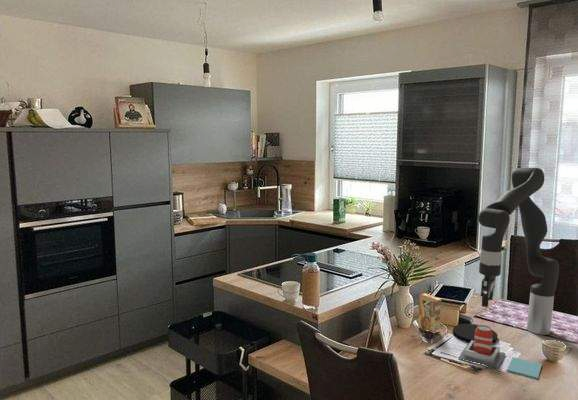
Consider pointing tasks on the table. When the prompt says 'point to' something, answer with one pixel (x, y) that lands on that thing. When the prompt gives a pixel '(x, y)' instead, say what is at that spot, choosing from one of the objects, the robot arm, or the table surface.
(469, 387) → the table surface
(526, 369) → the mat
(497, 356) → the can holder
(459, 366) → the table surface
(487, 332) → the beverage can
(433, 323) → the candy box
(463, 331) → the black round disc
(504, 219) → the robot arm
